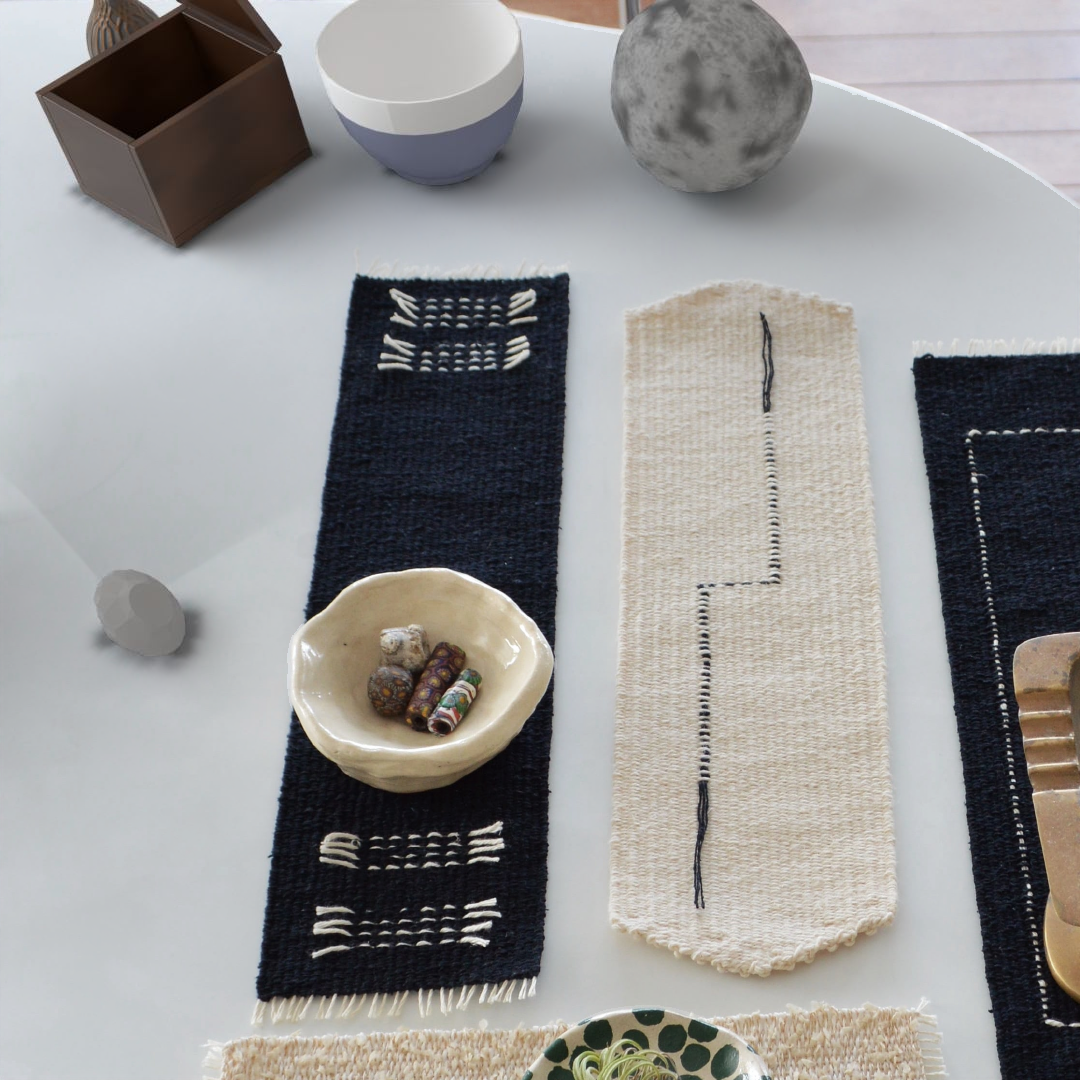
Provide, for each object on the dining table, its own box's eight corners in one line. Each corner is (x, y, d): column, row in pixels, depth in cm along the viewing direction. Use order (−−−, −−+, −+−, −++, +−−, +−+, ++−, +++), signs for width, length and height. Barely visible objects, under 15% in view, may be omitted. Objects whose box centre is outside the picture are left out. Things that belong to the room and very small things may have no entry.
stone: (653, 109, 123) (638, -70, 110) (830, 139, 120) (835, -40, 108) (595, 219, 115) (572, 40, 102) (782, 254, 113) (782, 75, 100)
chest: (177, 248, 114) (134, 148, 106) (82, 191, 117) (34, 91, 110) (313, 154, 120) (281, 54, 112) (218, 103, 123) (182, 3, 116)
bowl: (559, 102, 123) (544, -8, 115) (509, 222, 115) (489, 113, 107) (381, 83, 125) (353, -27, 117) (319, 201, 117) (284, 91, 108)
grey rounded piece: (61, 584, 93) (103, 548, 90) (151, 610, 97) (193, 577, 95) (63, 668, 90) (106, 633, 88) (155, 691, 95) (198, 659, 92)
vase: (93, 89, 125) (49, -11, 117) (163, 57, 127) (125, -43, 120) (133, 125, 122) (91, 25, 114) (204, 92, 124) (168, -8, 117)
